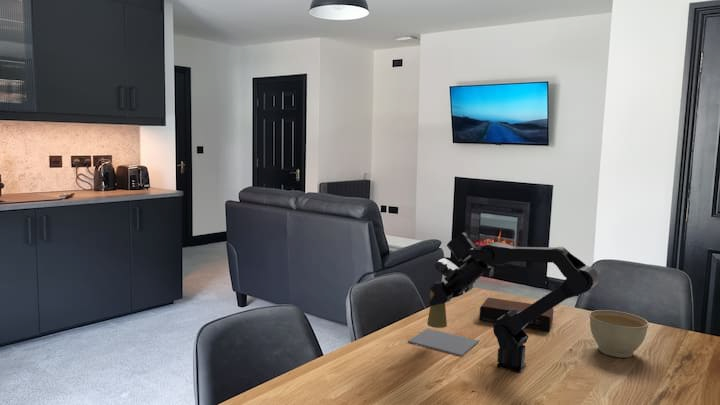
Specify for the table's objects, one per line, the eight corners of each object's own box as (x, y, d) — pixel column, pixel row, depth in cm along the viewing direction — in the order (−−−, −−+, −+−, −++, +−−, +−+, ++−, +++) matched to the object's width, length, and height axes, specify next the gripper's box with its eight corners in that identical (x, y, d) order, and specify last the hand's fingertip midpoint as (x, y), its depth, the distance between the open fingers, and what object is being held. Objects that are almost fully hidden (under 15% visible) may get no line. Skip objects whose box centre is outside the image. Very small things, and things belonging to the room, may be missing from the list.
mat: (479, 342, 166) (479, 340, 166) (462, 356, 155) (462, 354, 155) (427, 329, 176) (427, 328, 176) (407, 342, 164) (407, 340, 164)
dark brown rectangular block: (479, 321, 187) (480, 305, 186) (485, 312, 197) (486, 297, 197) (549, 333, 177) (550, 316, 176) (552, 323, 188) (553, 307, 187)
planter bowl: (653, 365, 152) (656, 329, 151) (593, 359, 155) (596, 324, 154) (635, 345, 168) (638, 312, 167) (582, 340, 171) (584, 307, 170)
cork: (442, 329, 158) (443, 293, 157) (423, 325, 161) (425, 290, 160) (450, 324, 163) (451, 289, 162) (432, 320, 166) (433, 286, 165)
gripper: (465, 247, 165) (432, 275, 172) (437, 256, 150) (403, 287, 157) (488, 275, 161) (453, 303, 169) (461, 288, 146) (425, 318, 154)
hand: (434, 302), depth 162 cm, fingers closed on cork, 5 cm apart
